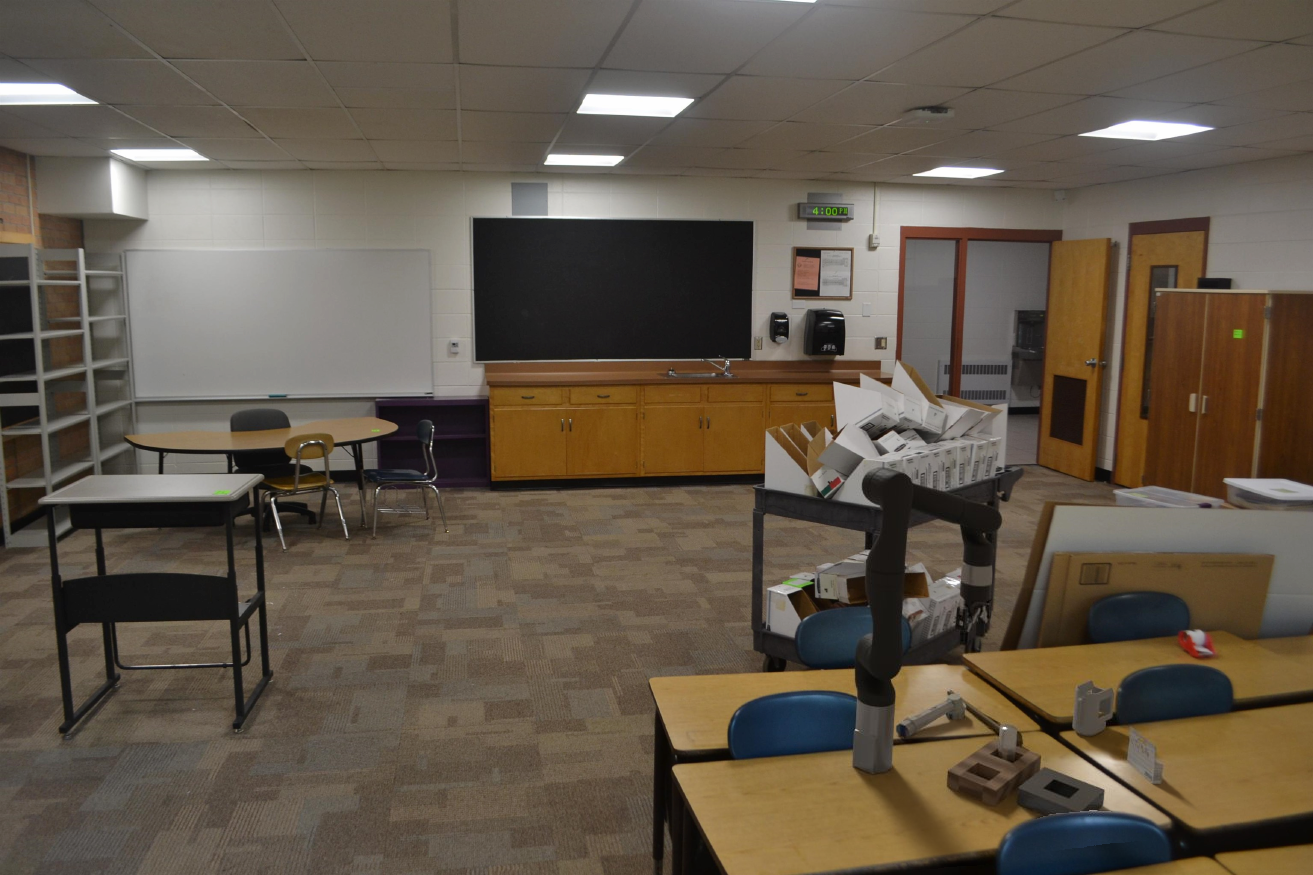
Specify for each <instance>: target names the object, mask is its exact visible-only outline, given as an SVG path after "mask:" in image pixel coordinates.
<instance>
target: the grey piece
mask: <svg viewBox="0 0 1313 875" xmlns="http://www.w3.org/2000/svg"><path fill="white" fill-rule="evenodd" d="M962 699H963V697H962V696H961V694H959V693H955V694H951V695H948V697H947V699H946V700H944V701H943V702H940V703H938V704H936V705H934V706H931V707H930V708H927V709H926V710H924V711H921V712H919V713H918V714H915V715H913V716H911V717H906V718H904V719H903V721H902V722H900V723H898V724H897V725H895V731H896V733H897V735H898V736H900V737H902V738H903V739H906V738H908V737H910V736H914V735H916V734H917V733H919V732H918V731H920V730H922V729H923V728H924V727H927V726H928V725H931V723H933V722H935V721H937V720H939V719H940V718H941V717H943V716H944V715H945V716H946V718H947V719H950V720H962V719H964V717H965V714H966V709H967V708H966V705H965V703H963V700H962Z"/></svg>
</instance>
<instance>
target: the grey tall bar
mask: <svg viewBox="0 0 1313 875" xmlns="http://www.w3.org/2000/svg"><path fill="white" fill-rule="evenodd" d="M1017 730H1018V728H1017V727H1016V726H1014V725H1013V724H1006V723H1004V724H1001V725H1000V732H999V736H998V739H999V748H998V758H1000V759H1003V760H1006V761H1008V762H1011V763H1014V762H1015V754H1016V740H1017Z"/></svg>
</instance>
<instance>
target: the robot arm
mask: <svg viewBox="0 0 1313 875" xmlns="http://www.w3.org/2000/svg"><path fill="white" fill-rule="evenodd" d="M861 492H862V494H863V495H864V497H865V499H866V500H868V501H869V502H870V503H872V504H874V505H877V506H879V507H881V511H882V512H881V514H882V515H881V527H880V530H879V531H880V532H879V535H878V537H877V539H876V540H875V542H874V543H873V545H872V547H871V549H870V550H869V552H868V555H867V557H866V560H865V562H866V563H865V574H864V575H865V576H864V587H865V593H866V599H867V602H868V607H869V611H870V615H871V621H872V632H869V633H866V634H865V635H863V636H862V637H861V638H860V639H859V641H858V642H857V644H856V648H855V652H854V653H855V654H854V683H855V684H854V685H855V687H856V688H855V689H856V691H857V692H856V693H857V697H856V711H855V712H856V714H855V715H856V717H855V729H854V731H853V746H852V766H853V767H855V768H858V769H860V770H862V771H864V772H867V773H869V774H871V775H875V774H881V773H886V772H888V771H890V770H891V769H892V767H893V752H894V749H893V748H894V729H895V711H896V697H897V695H896V694H897V693H896V690H895V689H896V688H895V687H894V684H893V683H892V680H893V679H894V678H896V677H897V676H898V674H900V671H901V670H902V667H903V662H904V648H903V629H902V628H903V626H902V625H903V623H902V621H903V607H904V606H903V605H904V604H903V603H904V589H905V579H906V578H905V577H906V552H907V542H908V541H907V540H908V531H909V524H910V518H911V512H912V510H914V511H917V512H918V513H921V514H925V515H926V516H929V517H932V518H935V519H937V520H940V521H943V522H946V523H950V524H954V525H959V527H960V533H961V539H962V542H963V556H962V557H963V558H962V565H961V572H960V573H961V574H960V583H959V585H960V586H959V588H960V589H959V596H960V597H961V599H963V600H964V603H963V606H959V605H958V606H957V607H956V616H955V625H954V626H955V627H954V628H955V629H956V630H958V631H959V644H960V645H963V646H965V647H966V646H968V645H969V643H970V630H971V628H972V626H973V625H975V636H977V637H980V638H984V637H985V636H986V625H987V623H988V621H989V620H991V619H992V603H993V602H992V600H993V599H992V584H993V583H992V581H993V556H994V554H993V552H994V548H993V547H994V546H993V544H992V543H991V541H989V540H988V539H987V538H985V536H984V534H985V535H988V534H993V533H995V532H997V531H999V529H1000V528H1001V527H1002V524H1003V517H1002V515H1001V511H999V510H998V509H997V508H996V507H994V506H991V505H988V504H985V503H981V502H978V501H972V500H970V499H966V498H964V497H962V496H960V495H958V494H953V493H951V492H948V491H945V490H940V489H936V488H933V487H928V486H923V485H920V484H916V483H914V482H913V481H912V479H911V477H910V476H909V475H908V474H907V473H905V472H902V471H900V470H899V471H898V470H897V469H896V470H895V469H893V468H889V467H882V466H881V467H880V466H879V467H874V468H872V469H869V470H868V471H867V472H866V473H865V474H864V476H863V478H862V482H861ZM975 622H976V624H975Z"/></svg>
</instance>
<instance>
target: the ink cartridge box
mask: <svg viewBox="0 0 1313 875" xmlns="http://www.w3.org/2000/svg"><path fill="white" fill-rule="evenodd" d="M1140 739H1142V741H1143V742H1144V743H1145V744H1144V743H1143V742H1142V741H1141V740H1140ZM1156 755H1157V746H1156V745H1155V744H1154V743H1152V742H1151V741H1150V740H1148V739H1147V738H1146V737H1144V735H1142V734H1141V733H1139V732H1138V731H1137V730H1136V729H1135V728H1133V727H1132V726H1129V744H1128V748H1127V759H1126V761H1127V763H1128V764H1129V765H1130V766H1132V767H1133V768H1134V769H1135V770H1136V771H1137V772H1138V773H1139V774H1140V775H1142V776H1143V777H1144V778H1145V779H1146V780H1147V781H1148V782H1149V783H1151V784H1153V785H1161V784H1162V778H1163V770H1164V764H1163V763H1162V762H1161V761H1160V760H1158V759H1157V758H1156Z"/></svg>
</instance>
